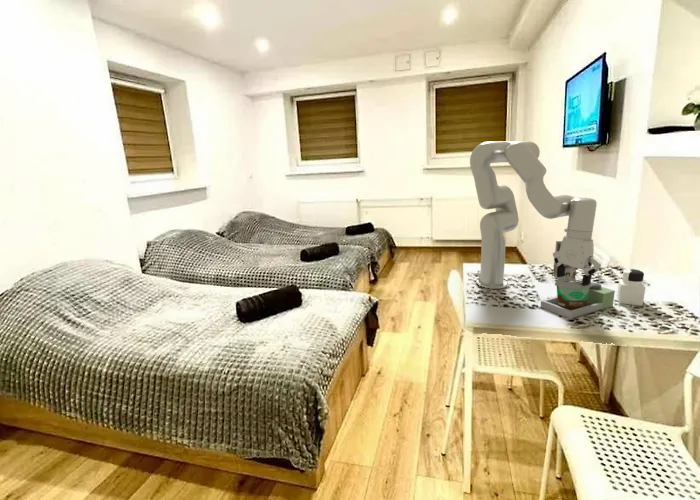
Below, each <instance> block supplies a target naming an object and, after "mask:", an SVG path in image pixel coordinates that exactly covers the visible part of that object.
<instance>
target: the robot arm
mask: <svg viewBox="0 0 700 500" xmlns="http://www.w3.org/2000/svg"><path fill="white" fill-rule="evenodd" d="M540 152H541V151H540V147H539V146H538V144H537V143H535V142H533V141H529V140H528V141H527V140H526V141H523V140H522V141H510V140H507V141H506V140H505V141H502V140H501V141H484V142H482V143H480V144H478V145H476V146H475V148H473V150H472V151H471V154H470V157H469V166H470V169H471V173H472V176H473V179H474V181H473V182H474V186H475V190H476V191H475V192H476V194H477V199H478V204H479V206H480V208H482V209H484V210H493V209H495V211H492V212H489V213H486V214H485V215H484V216H482V218H481V219H480V222H479V230H480V237H481V248H480V249H481V251H480V269H479V270H477V271H476V272H475V276H477V277H478V279H476V281H475V282H476V283H477V284H478V285H479V286H478V285H477V284H476V283H475V284H476V285H477V286H478V287H480V286H482V287H481V288H483V287H485V288H484V289H488V288H489V289H490V290H499V289H504V288H506V287H508V282H507V281H506V280H505V279H504V278H505V265H506V264H505V261H506V240H505V237H504V234H506V233H509V232H512V231H514V230H515V229H517V227H518V225H519V221H520V220H519V218H520V217H519V213H518V209H517V205H516V204H517V203H516V200H515V194H514V192H513V190H512V189H511V188H510V187H509V186H507V185H505V184H498V180H497V175H496V173H495V171H494V169H493V168H492V166H491V164H494V163H495V164H498V163H508V164H509V165H510V166H511V168H512V170H514V171H515V173H516V174H517V175H518V176H519V178H520V179H521V180H522V181H523V183H524V185H525V186H524V187H525V192H526V197H527V199H528V201H529V202H530V203H531V205H532V206H533V207H534V208H535V210H536V211H537V212H538V214H540V216H542V217H544V218H546V219H548V220H550V219H551V220H553V219H558V218H562V217H568V221H567V227H566V228H564V229H563V231H564V232H565V233H566V235H564V236H563V237H562V240H561V241H562V243H561V246H560V250H559V251H558V252H555V251H554V252H553V253H552V256H553V261H555V262H556V266H557V267H558V268H557V277H563V276H564V274H565V266H564V265H568V266H571V267H574V268H576V269H578V270H582V271H583V273H584V274H583V276H582V280H581V281H582V286H586V285H589V284H590V282H592V275H594V274H595V273H597V272H598V271H599V270H600V269H601V267H602V264H601V263H600V262H598V260H596V259H595V258H594V239H592V237H593V231H594V224H595V217H596V212H597V200H596V199H594V198H590V197H576V196H573V195H568V194H560V195H555V196H554V195H553V194H552V193H551V192H550V191H549V189H548V188H547V187H546V185H545V183H544V177H545V175H546V174H547V168H546V166H544V164H543V163H542V162H541V160H540V159H539V157H540ZM592 266H593V267H592Z"/></svg>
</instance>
